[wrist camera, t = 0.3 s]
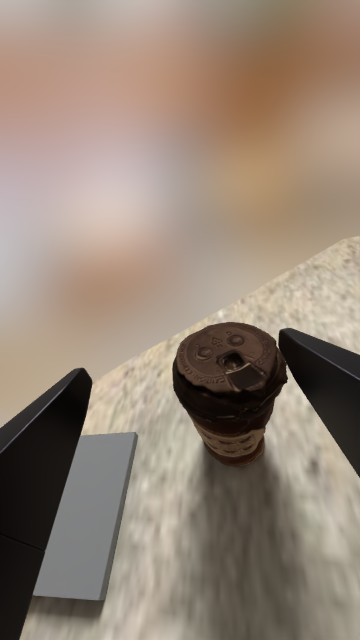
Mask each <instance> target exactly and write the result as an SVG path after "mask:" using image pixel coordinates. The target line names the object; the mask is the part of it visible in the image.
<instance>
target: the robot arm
mask: <svg viewBox="0 0 360 640" xmlns="http://www.w3.org/2000/svg"><path fill="white" fill-rule="evenodd" d="M278 346H279V349H280V351H281V353H282V355H283V357H284V359H285V361H286V363H287V365H288V367H289V369H290V371H291V373H292V375H293V377H294V379H295V380H296V382H297V384H298V385H299V387H300V388H301V390H302V391H303V393H304V394H305V396H306V397H307V399H308V400H309V402H310V403H311V405H312V406H313V408H314V409H315V411H316V412H317V414H318V415H319V417H320V418H321V420H322V422H323V423H324V425H325V426H326V428H327V429H328V431H329V432H330V434H331V435H332V437H333V438H334V440H335V441H336V443H337V444H338V446H339V447H340V449H341V450H342V452H343V453H344V455H345V456H346V458H347V459H348V461H349V462H350V464H351V465H352V467H353V468H354V470H355V471H356V473H357V474H358V476H359V477H360V355H359V354H356V353H354V352H351V351H348V350H346V349H343V348H341V347H338V346H336V345H333V344H331V343H328V342H325V341H323V340H320V339H318V338H315V337H313V336H310V335H308V334H305V333H303V332H300V331H297V330H295V329H292V328H285V329H281V330H280V331H279V342H278ZM91 388H92V379H91V377H90V376H89V374H88V373H87V371H86V370H85V369H84V368H77V369H74V370H73V371H71V372H70V373H68V374H67V375H66V376H65V377H64V378H62V379H61V380H60V381H59V382H57V383H56V384H55V385H54V386H52V387H51V388H50V389H49V390H47V391H46V392H45V393H44V394H42V395H41V396H40V397H39V398H37V399H36V400H35V401H34V402H32V403H31V404H30V405H29V406H27V407H26V408H25V409H24V410H23V411H21V412H20V413H19V414H17V415H16V416H15V417H14V418H12V419H11V420H10V421H9V422H8V423H6V424H5V425H4V426H3V427H1V428H0V640H19V639H20V636H21V633H22V629H23V626H24V623H25V619H26V616H27V612H28V609H29V606H30V602H31V599H32V596H33V592H34V589H35V586H36V582H37V579H38V576H39V572H40V569H41V566H42V562H43V559H44V556H45V550H46V548H47V545H48V542H49V538H50V535H51V532H52V528H53V525H54V522H55V518H56V515H57V512H58V508H59V505H60V502H61V498H62V495H63V492H64V488H65V485H66V482H67V478H68V475H69V472H70V468H71V465H72V461H73V458H74V455H75V451H76V448H77V445H78V441H79V438H80V435H81V431H82V428H83V425H84V421H85V418H86V414H87V409H88V404H89V399H90V394H91Z"/></svg>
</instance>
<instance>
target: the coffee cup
mask: <svg viewBox="0 0 360 640" xmlns="http://www.w3.org/2000/svg"><path fill="white" fill-rule="evenodd" d="M286 366H287V364H286V362H285V359H284V357H283V355H282V353H281V351H280V350H279V349H278V347H277V346H276V340H275V339H274V338H273V337H271V336H270V335H269V334H268V333H266V332H264V331H262V330H261V329H259V328H257V327H255V326H252V325H249V324H245V323H235V322H226V323H220V324H215V325H210V326H207V327H205V328H204V329H202V330H200V331H198V332H195V333H193V334H191V335H189V336H188V337H187V338H185V339H184V340H183V341H182V342H181V343H180V346H179V348H178V351H177V355H176V357H175V360H174V362H173V368H172V371H173V387H174V391H175V393H176V395H177V397H178V399H179V401H180V403H181V404H182V405H183V407H184V408H185V409H186V411H187V413H188V414H189V416H190V418H191V419H192V421H193V423H194V426H195V427H196V429H197V431H198V433H199V434H200V436H201V437H202V439H203V440H204V443H205V446H206V448H207V449H208V451H209V452H210V453H211V455H212V456H214V457H215V458H216V459H217V460H219V461H220V462H221V463H223V464H225V465H229V466H244V465H246V464H249V463H252V462H254V461H255V460H256V458H257V457H258V456H260V454H262V452H263V444H264V433H265V429H266V428H265V426H266V424H267V422H268V421H269V420H270V416H271V414H272V412H273V406H274V401H275V398H276V397H277V396H278V395H279V393H280V392H281V389H282V387H283V385H284V384H285V383H287V380H288V377H287V375H286V372H287V371H286Z"/></svg>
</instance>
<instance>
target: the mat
mask: <svg viewBox="0 0 360 640" xmlns="http://www.w3.org/2000/svg"><path fill="white" fill-rule="evenodd" d="M137 438H138V435H137V434H136V433H135V432H128V433H113V434H98V435H83V436H80V438H79V441H78V445H77V448H76V451H75V455H74V458H73V461H72V465H71V468H70V472H69V475H68V478H67V482H66V485H65V488H64V492H63V495H62V498H61V502H60V505H59V508H58V512H57V515H56V518H55V522H54V525H53V528H52V532H51V535H50V538H49V542H48V545H47V548H46V550H45V556H44V559H43V562H42V566H41V569H40V572H39V576H38V579H37V582H36V586H35V589H34V592H33V595H35V596H48V597H61V598H74V599H87V600H105V598H106V593H107V588H108V583H109V578H110V573H111V568H112V563H113V558H114V553H115V548H116V543H117V538H118V533H119V528H120V523H121V518H122V513H123V508H124V503H125V498H126V493H127V488H128V483H129V478H130V473H131V468H132V463H133V458H134V453H135V448H136V443H137Z"/></svg>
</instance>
